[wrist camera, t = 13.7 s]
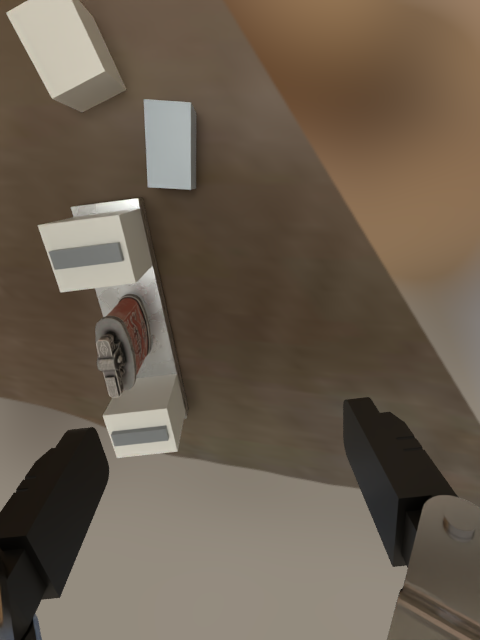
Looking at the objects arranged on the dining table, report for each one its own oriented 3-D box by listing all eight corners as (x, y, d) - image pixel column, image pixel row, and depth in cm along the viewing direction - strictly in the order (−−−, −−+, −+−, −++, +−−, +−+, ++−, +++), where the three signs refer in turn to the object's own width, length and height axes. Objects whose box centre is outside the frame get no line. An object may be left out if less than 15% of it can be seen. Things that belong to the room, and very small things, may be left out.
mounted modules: (133, 418, 45) (115, 462, 38) (73, 217, 35) (33, 226, 28) (185, 412, 45) (176, 455, 38) (139, 208, 35) (116, 215, 28)
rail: (139, 414, 47) (135, 424, 45) (78, 205, 36) (70, 207, 35) (188, 408, 47) (186, 418, 45) (142, 197, 36) (137, 198, 34)
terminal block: (158, 186, 36) (147, 187, 31) (156, 110, 33) (143, 99, 29) (196, 188, 36) (190, 189, 31) (196, 113, 33) (190, 102, 29)
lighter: (114, 294, 38) (77, 330, 29) (144, 292, 38) (116, 328, 29) (128, 356, 41) (97, 407, 32) (155, 355, 41) (133, 405, 32)
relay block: (82, 112, 33) (52, 98, 28) (46, 43, 31) (5, 12, 25) (126, 90, 33) (105, 71, 27) (93, 17, 30) (62, -20, 25)
